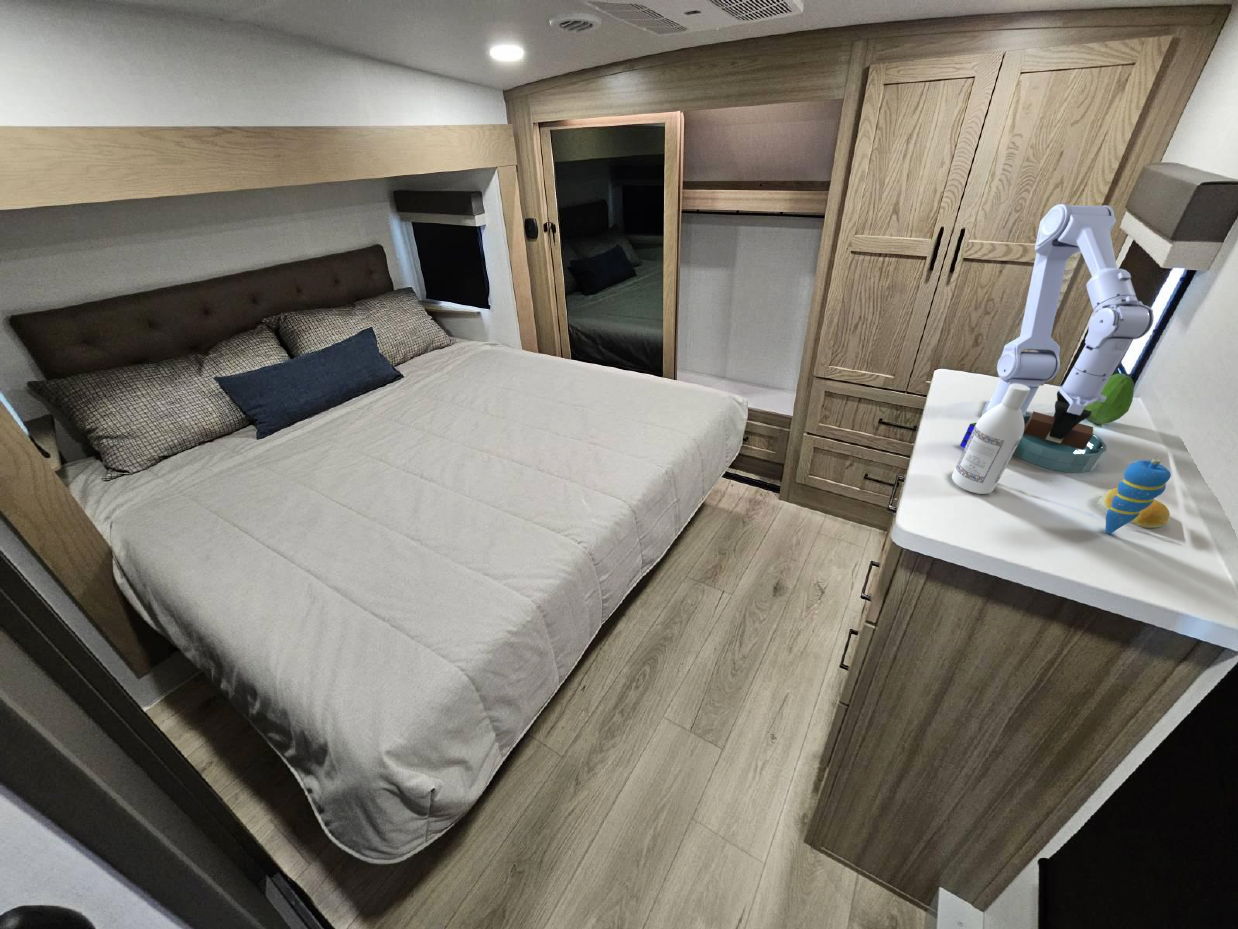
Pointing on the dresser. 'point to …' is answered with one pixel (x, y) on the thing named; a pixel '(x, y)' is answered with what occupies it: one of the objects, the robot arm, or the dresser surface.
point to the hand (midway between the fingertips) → (1056, 432)
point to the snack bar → (1075, 438)
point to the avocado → (1112, 400)
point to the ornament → (1136, 492)
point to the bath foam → (992, 443)
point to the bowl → (1059, 453)
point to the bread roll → (1148, 517)
